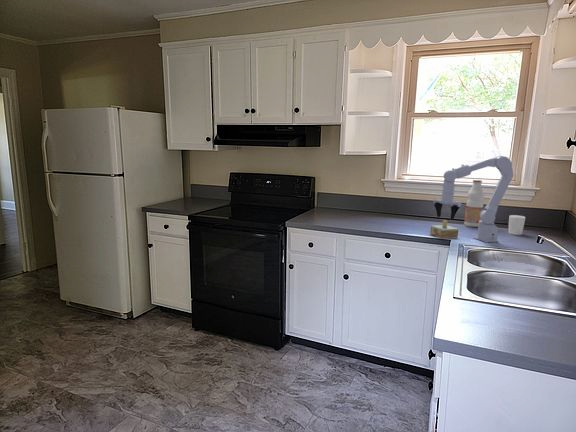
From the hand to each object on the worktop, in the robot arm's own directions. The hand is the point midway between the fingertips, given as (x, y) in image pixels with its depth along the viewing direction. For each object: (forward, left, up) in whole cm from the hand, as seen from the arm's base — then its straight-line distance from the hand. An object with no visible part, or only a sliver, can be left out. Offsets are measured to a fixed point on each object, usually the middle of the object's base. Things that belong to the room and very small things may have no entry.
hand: (445, 217), depth 216 cm
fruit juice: (+21, -35, -10) cm, 42 cm away
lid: (0, 0, -6) cm, 6 cm away
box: (0, 0, -10) cm, 10 cm away
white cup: (-2, -45, -10) cm, 46 cm away
